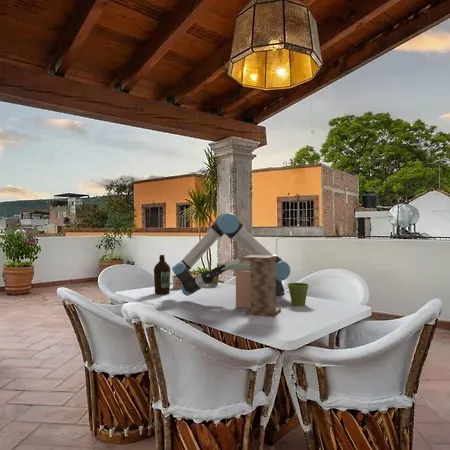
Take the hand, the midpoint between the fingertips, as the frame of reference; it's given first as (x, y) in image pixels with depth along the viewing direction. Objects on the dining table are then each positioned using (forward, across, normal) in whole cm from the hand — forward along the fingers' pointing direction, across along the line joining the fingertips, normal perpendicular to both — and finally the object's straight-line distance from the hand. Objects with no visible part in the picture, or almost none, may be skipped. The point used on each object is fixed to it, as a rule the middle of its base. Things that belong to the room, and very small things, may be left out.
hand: (234, 261), depth 211 cm
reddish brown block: (-3, 0, -26) cm, 26 cm away
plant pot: (+17, -9, -37) cm, 42 cm away
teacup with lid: (-60, -40, +7) cm, 72 cm away
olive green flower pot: (-44, -57, -2) cm, 72 cm away
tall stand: (+5, +16, -30) cm, 34 cm away
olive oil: (-60, -14, +7) cm, 62 cm away
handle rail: (0, 0, -6) cm, 6 cm away
